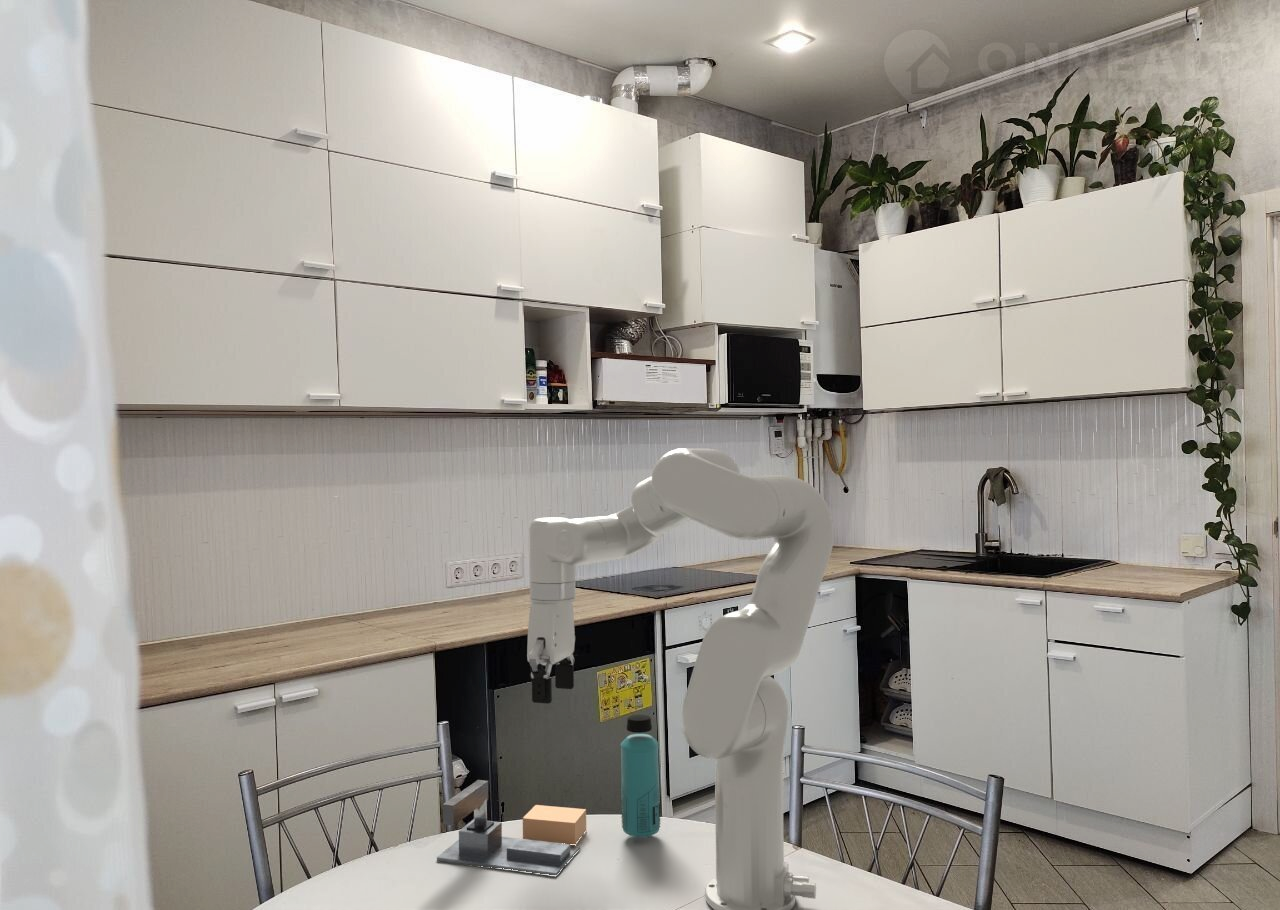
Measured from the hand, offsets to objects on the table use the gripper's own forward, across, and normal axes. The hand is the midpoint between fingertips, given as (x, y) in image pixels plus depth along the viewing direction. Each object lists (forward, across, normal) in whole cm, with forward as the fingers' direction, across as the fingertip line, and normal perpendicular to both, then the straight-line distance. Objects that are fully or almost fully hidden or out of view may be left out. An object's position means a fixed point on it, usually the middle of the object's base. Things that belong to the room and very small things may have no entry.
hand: (553, 695), depth 151 cm
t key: (+19, +14, -9) cm, 25 cm away
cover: (+24, 0, 0) cm, 24 cm away
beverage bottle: (+24, -3, +14) cm, 28 cm away
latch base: (+23, +9, -4) cm, 25 cm away
